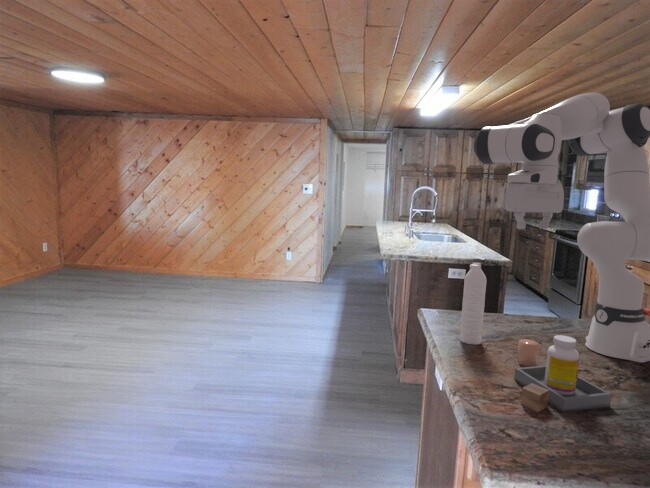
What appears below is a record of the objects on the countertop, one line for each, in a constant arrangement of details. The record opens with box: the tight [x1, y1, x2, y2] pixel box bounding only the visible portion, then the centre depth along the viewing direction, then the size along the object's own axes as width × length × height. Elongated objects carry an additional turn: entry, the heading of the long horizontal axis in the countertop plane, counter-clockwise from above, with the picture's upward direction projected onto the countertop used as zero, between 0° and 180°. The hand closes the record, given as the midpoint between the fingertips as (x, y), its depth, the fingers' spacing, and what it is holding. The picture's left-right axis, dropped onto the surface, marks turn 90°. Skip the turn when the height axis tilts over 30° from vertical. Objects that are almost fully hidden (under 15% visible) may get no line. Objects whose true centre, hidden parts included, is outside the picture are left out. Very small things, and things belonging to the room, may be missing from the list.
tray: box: [514, 364, 612, 413], centre depth 103 cm, size 13×16×3 cm
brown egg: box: [516, 338, 540, 367], centre depth 119 cm, size 5×5×6 cm
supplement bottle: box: [544, 334, 580, 396], centre depth 102 cm, size 7×7×13 cm
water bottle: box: [459, 262, 487, 345], centre depth 133 cm, size 9×6×25 cm
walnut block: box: [520, 383, 549, 413], centre depth 97 cm, size 4×4×4 cm
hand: (532, 229), depth 117 cm, fingers open, 8 cm apart
